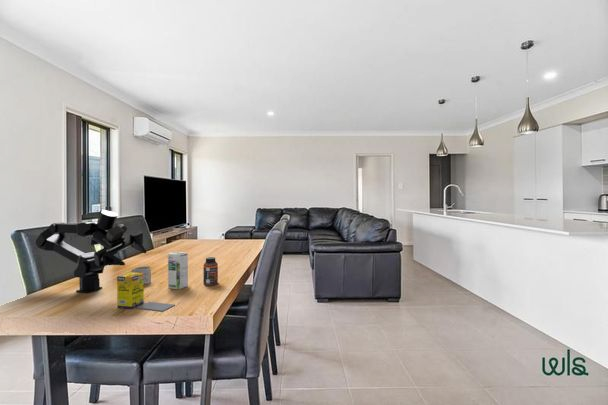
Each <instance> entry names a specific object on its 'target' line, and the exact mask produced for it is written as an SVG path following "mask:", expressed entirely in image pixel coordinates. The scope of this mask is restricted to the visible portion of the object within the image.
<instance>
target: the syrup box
mask: <svg viewBox="0 0 608 405" xmlns="http://www.w3.org/2000/svg"><path fill="white" fill-rule="evenodd" d="M188 257H189V253H188V252H185V251H173V252H169V253H167V270H168V271H167V272H168V273H167V278H168V279H167V281H168V283H167V287H168V289H171V290H172V289H173V290H180V289H181V290H182V289H184V288H185V287H188V286H189V269H188V268H189V261H188V260H189V258H188Z"/></svg>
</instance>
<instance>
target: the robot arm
mask: <svg viewBox="0 0 608 405" xmlns="http://www.w3.org/2000/svg"><path fill="white" fill-rule="evenodd" d="M118 216H119V214H118V213H117V212H115V211H111V210H106V209H100V211H99V214H98V218H97V221H86V222H84V221H83V222H78V223H73V222H72V223H69V222H68V223H67V222H55V223H54V222H53V223H52V224H50V225H49V227H48V228H46V229H45V230H43V231H42V232H41V233H39V235H38V236H37V238H36V239H35V245H36V247H37V249H39V250H42V251H46V252H47V251H48V252H49V251H51V252H54V253H57V254H58V255H59V256H61V257H64V258H65V259H67V260H69V261H71V262H73V263H75V264H76V268H75V270H74V271H73V276H74V278H79V289H76V292H77V293H85V294H86V293H87V294H89V293H93V292H96V291H99V290H102V289H103V286H101V284H100V283H101V282H100V274H103V273H104V270H105V267H106V266H123V267H124V266H126V263H125V262H124V261H123V260H122V259H121V258H119V257H117V256H116V255H117V254H118V253H120V252H122V251H124V250H126V249H127V248H130V247H131V248H133V249H134V250H135V251H138V252H139V253H143V254H147V250H146V249H145V247H144V245H143V244H144V234H143V232H141V231H139V230H137V231H135V232H134V233H132V234H129V240H127V241H125V236H124V234H125V233H127V230H128V227H127V226H126V225H125V224H123V223H120V224H117V225H116V222H117V218H118ZM115 225H116V226H115ZM66 234H76V235H77V236H80V237H83V238H85V237H86V238H87V237H91V239H90V245H91V246H95V245H100V246H102V247H103V248H101V249H99V250H98V251H91V252H86V253H85V252H84V251H81V250H80V249H77V248H76V247H74V246H72V245H70V244H68V243H67V242H65V239H66ZM76 292H75V293H76Z"/></svg>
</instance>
